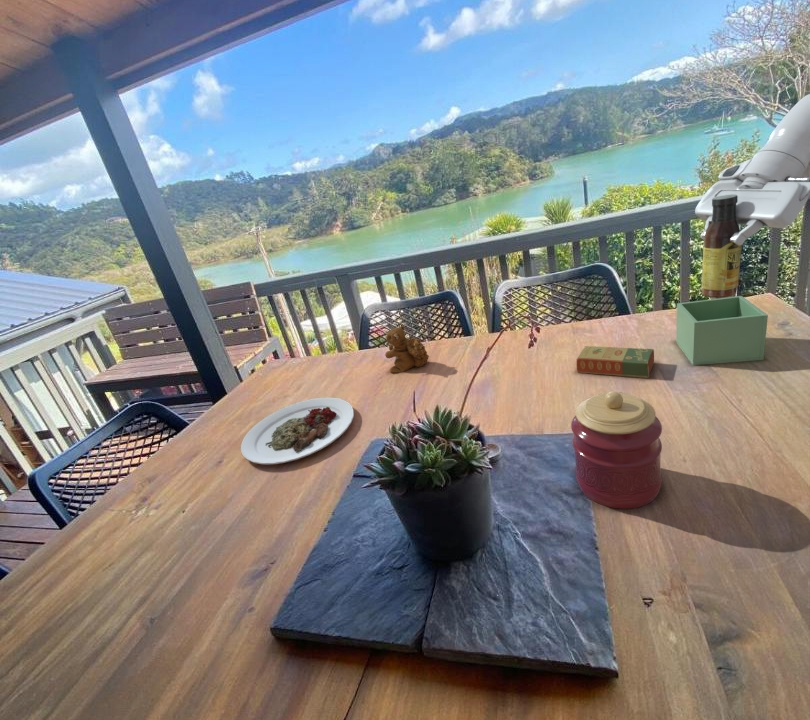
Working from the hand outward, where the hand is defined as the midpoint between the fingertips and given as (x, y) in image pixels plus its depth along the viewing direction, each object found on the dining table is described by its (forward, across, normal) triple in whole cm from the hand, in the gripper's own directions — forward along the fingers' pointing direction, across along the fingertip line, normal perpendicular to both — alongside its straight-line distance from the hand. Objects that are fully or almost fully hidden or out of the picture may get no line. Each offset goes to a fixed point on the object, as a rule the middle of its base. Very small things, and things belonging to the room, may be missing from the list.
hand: (718, 241), depth 88 cm
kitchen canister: (+48, -26, +8) cm, 55 cm away
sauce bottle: (+8, 0, -9) cm, 12 cm away
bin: (+16, +6, -25) cm, 30 cm away
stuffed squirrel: (+65, +45, +26) cm, 83 cm away
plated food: (+89, +22, +50) cm, 104 cm away
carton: (+32, +10, -8) cm, 35 cm away
